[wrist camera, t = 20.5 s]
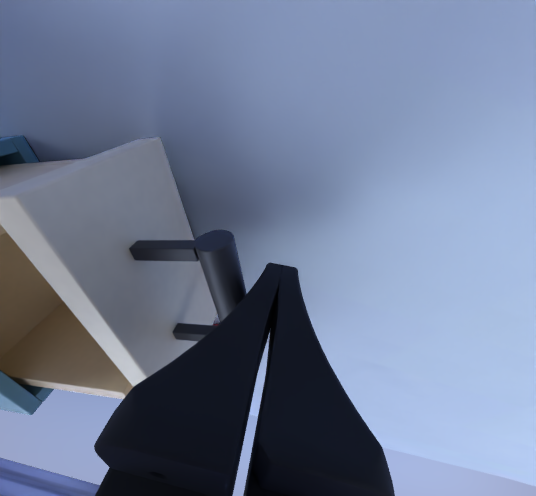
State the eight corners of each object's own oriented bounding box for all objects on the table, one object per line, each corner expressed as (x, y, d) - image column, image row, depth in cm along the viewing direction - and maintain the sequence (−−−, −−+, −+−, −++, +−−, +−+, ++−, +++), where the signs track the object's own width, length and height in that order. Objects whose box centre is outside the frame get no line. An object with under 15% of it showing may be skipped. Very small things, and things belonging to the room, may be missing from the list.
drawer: (248, 127, 10) (170, 188, 5) (275, 315, 17) (253, 428, 12) (-39, 156, 14) (-269, 209, 8) (76, 303, 20) (-12, 386, 15)
